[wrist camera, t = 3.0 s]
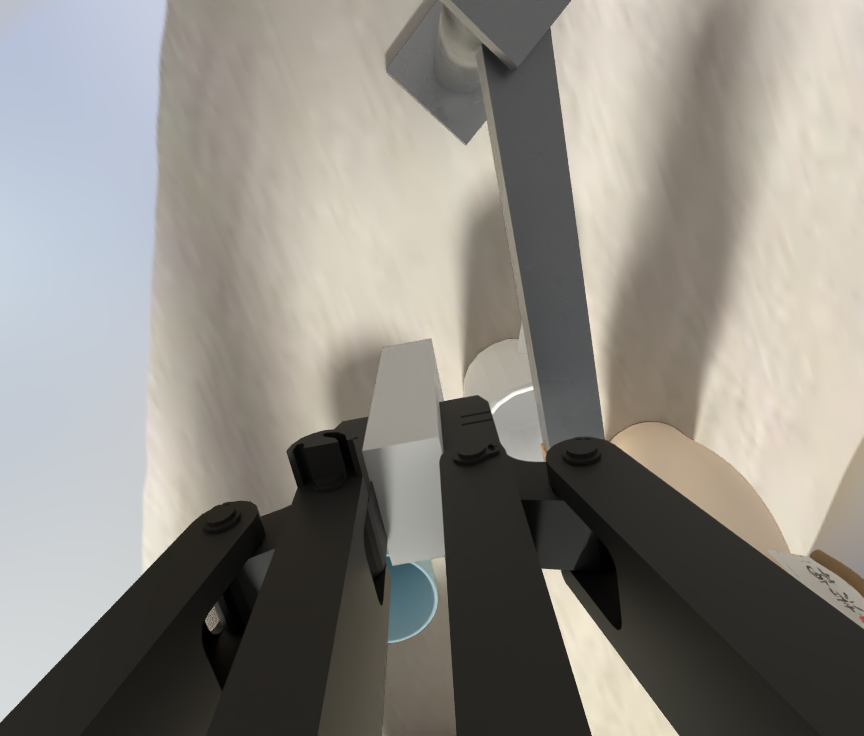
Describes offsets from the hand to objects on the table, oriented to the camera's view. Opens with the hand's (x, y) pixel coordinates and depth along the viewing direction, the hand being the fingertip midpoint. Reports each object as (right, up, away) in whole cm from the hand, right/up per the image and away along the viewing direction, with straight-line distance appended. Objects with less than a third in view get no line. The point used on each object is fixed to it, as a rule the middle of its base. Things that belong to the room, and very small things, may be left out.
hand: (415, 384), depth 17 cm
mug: (+7, +1, +27) cm, 28 cm away
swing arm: (+5, +4, +7) cm, 10 cm away
